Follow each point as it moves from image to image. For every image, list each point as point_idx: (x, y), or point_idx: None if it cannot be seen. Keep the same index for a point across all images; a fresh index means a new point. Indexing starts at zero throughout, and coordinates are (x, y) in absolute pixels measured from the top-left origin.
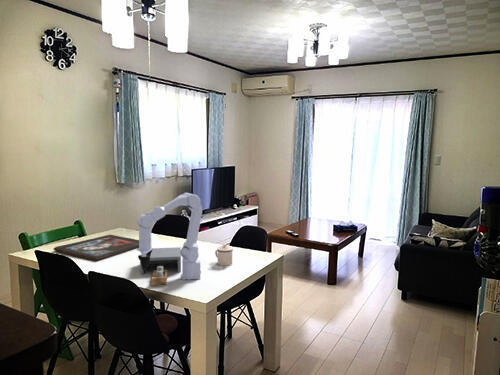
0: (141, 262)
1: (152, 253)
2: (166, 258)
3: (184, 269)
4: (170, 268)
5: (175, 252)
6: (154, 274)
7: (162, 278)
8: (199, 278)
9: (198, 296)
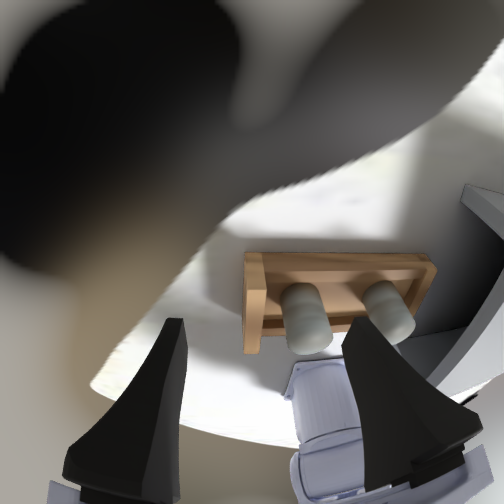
0: (123, 399)
1: None
2: (447, 365)
3: (313, 404)
4: (451, 310)
5: (474, 379)
6: (380, 277)
7: (244, 337)
8: (284, 398)
9: (123, 385)
